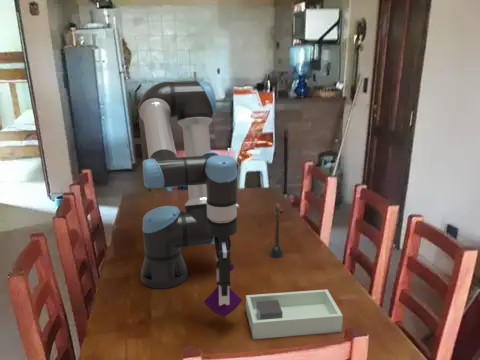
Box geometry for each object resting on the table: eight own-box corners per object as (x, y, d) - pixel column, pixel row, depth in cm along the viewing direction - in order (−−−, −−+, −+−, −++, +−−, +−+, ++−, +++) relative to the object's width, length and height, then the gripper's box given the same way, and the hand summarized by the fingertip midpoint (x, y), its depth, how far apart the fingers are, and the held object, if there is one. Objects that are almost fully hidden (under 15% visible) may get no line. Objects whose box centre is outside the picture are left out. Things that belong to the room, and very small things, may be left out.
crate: (252, 339, 114) (253, 322, 113) (245, 310, 127) (245, 295, 125) (341, 331, 117) (342, 315, 116) (326, 304, 130) (327, 289, 128)
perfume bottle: (222, 299, 124) (221, 242, 118) (242, 309, 119) (242, 250, 114) (203, 312, 118) (201, 252, 113) (224, 323, 114) (223, 261, 108)
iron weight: (260, 327, 118) (260, 314, 116) (256, 313, 123) (256, 301, 122) (282, 325, 118) (282, 312, 117) (277, 312, 124) (277, 299, 123)
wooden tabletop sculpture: (285, 258, 157) (287, 206, 151) (273, 260, 156) (274, 207, 150) (280, 251, 163) (281, 200, 157) (268, 252, 162) (269, 201, 156)
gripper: (241, 232, 102) (241, 317, 109) (232, 203, 120) (232, 277, 127) (209, 234, 101) (211, 319, 108) (205, 204, 119) (206, 279, 126)
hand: (223, 296), depth 117 cm, fingers closed on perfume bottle, 6 cm apart
